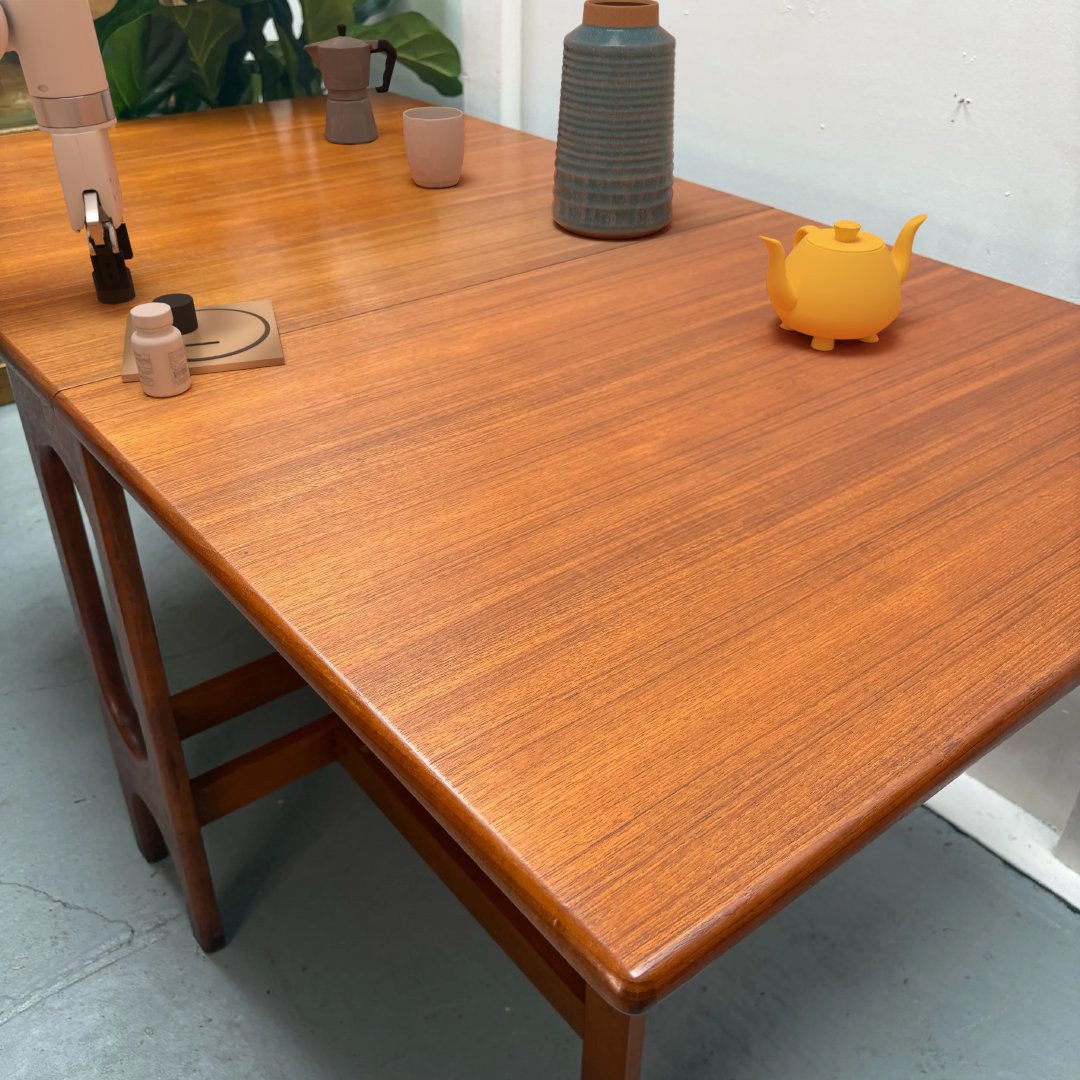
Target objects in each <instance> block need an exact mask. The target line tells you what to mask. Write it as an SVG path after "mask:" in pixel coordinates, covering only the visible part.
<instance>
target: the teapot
mask: <svg viewBox="0 0 1080 1080" xmlns="http://www.w3.org/2000/svg"><path fill="white" fill-rule="evenodd" d="M928 217H929V216H928V214H927V213H923V214H919V215H916V216H914V217H912V218H911V219H909V220H907V221H906V222H905V224H904V225H903V227H902V228H901V229H900V231H899V233H898V235H897V238H896V240H895V242H894V245H893V247H892V248H891V250H889V248H888V246H887V244H886V242H885V241H884V240H883V239H882V238H881V237H880V236H878V235H876V234H873V233H870V232H868V231H864V230H861V228H862V224H861V223H859V222H858V221H854V220H850V219H849V220H848V219H847V220H846V219H842V220H841V219H840V220H837V221H834V222H833V227H829V228H828V227H827V228H819V227H818V226H815V225H812V224H811V225H810V224H809V225H807V224H806V225H803V226H800V227H799V228H798V229H797V230H796V231H795V233H794V236H793V240H792V250H791V251H790V253H789V254H788V255H787V256H786V253H785V249H784V246H783V244H782V243H781V241H779V240H778V239H776V238H771V237H767V236H763V235H758V237H759V239H760V240H762V242H763V243H764V244H765V245H766V247H767V249H768V264H767V265H768V266H767V268H766V269H767V270H766V276H765V288H766V292H767V295H768V297H769V302H770V306H771V308H772V310H773V312H775V314H776V315H777V317H778V319H780V320H781V323H780V325H779V327H780V328H781V329H784V330H785V331H791V332H793V331H796V332H798V333H801V334H804V335H808V336H811V337H812V340H811V343H810V347H811V348H812V349H814V350H817V351H821V352H822V351H823V352H825V351H826V352H827V351H832V350H833V349H834V348H835V340H858V341H859V342H863V343H868V344H869V343H877V342H878V341H879V340H880V338H879V337H878V333H880V332H881V331H883V330H884V329H885V328H887V327H888V326H889V325H890V324H892V322H894V321H895V319H896V318H897V317H898V315H899V314H900V310H901V303H902V289H901V288H902V287H901V286H902V285H903V283H904V282H905V280H906V279H907V277H908V275H909V272H910V267H911V260H912V252H913V244H914V240H915V238H916V237H915V236H916V234H917V232H918V230H919V228H920V227H921V225H922V224H923V223H924V222H925V221H926V220H927V218H928Z"/></svg>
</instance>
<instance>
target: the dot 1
mask: <svg viewBox="0 0 1080 1080" xmlns="http://www.w3.org/2000/svg"><path fill="white" fill-rule="evenodd" d="M126 268H127V272H128V276H129V280H130V288H128V289H121V290H112V291H100V290H99V288H98V284H97V280H96V277H95V273H94V270H93V271H92V272H91V277H92V281H93V285H94V289H95V292H96V293H95V294H96V297H97V301H98V302H100V303H103V304H109V305H110V304H112V305H113V304H123V303H126V302H129V301H132V300H133V299H134V298H136V291H135V285H134V281H133V277H132V272H131V268H130V267H128V266H126Z"/></svg>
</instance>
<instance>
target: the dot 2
mask: <svg viewBox="0 0 1080 1080" xmlns="http://www.w3.org/2000/svg"><path fill="white" fill-rule="evenodd" d="M151 303H165V304H167V305H169V306H170V308H171V312H172V316H173V324H172V325H171V326H174V327H176V328H177V329H178V330H179V331H180V332H181V335H184V334H188V333H191V332H193V331H195V330H196V329H197V328H198V322H197V316H196V311H195V307H196V305H195V301H194V297H193V296H192V295H190V294H187V293H178V292H176V293H175V292H174V293H167V294H162V295H160V296H157V297H155V298H154V299H152V301H151Z"/></svg>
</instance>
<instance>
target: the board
mask: <svg viewBox="0 0 1080 1080" xmlns="http://www.w3.org/2000/svg"><path fill="white" fill-rule="evenodd" d="M195 311H196V316H197V322H198V328H197V329H196V330H195V331H193V332H191V333H188V334H184V335H182V340H183V345H184V349H185V354H186V359H187V364H188V369H189V374H190V376H194V375H203V374H211V373H220V372H230V371H237V370H247V369H256V368H264V367H273V366H282V365H285V364H286V363H285V357H284V353H283V347H282V344H281V339H280V334H279V329H278V325H277V320H276V316H275V312H274V306H273V302H272V299H263V300H262V299H261V300H252V301H241V302H232V303H221V304H212V305H201V306H195ZM135 331H136V329H135V328H134V327H133V323H132V318H131V312H129V313H128V312H127V313H126V321H125V332H124V343H123V353H122V361H121V371H120V377H121V380H122V383H133V382H140V377H139V373H138V369H137V365H136V360H135V356H134V351H133V347H132V343H131V337H132V334H133V333H134V332H135Z"/></svg>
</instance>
